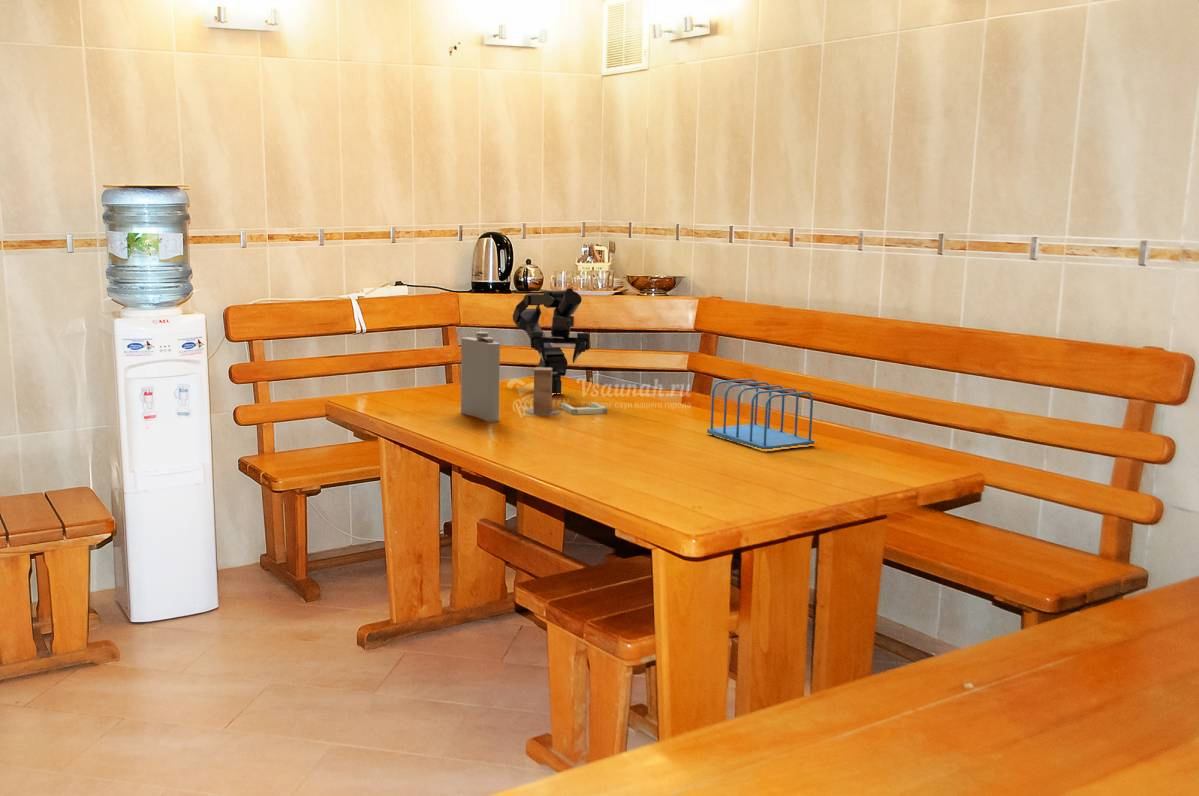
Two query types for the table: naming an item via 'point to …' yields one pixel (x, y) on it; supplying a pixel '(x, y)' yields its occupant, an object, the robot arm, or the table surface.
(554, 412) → the slate coaster
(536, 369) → the oak block
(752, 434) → the file sorter
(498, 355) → the flask
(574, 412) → the pocket
